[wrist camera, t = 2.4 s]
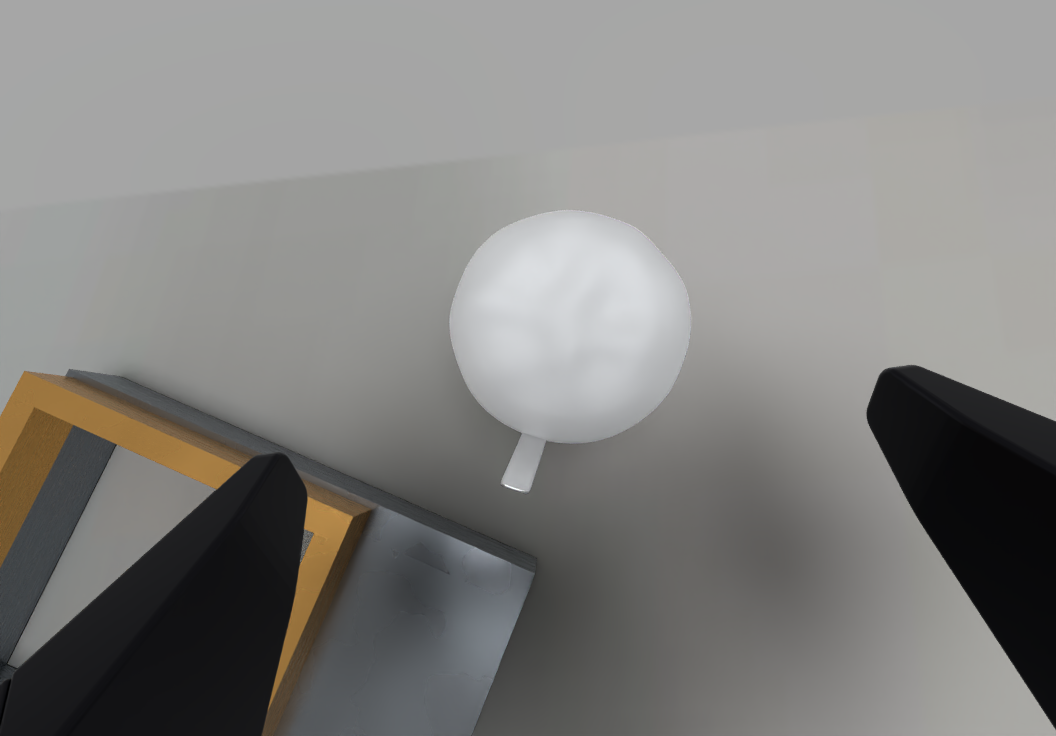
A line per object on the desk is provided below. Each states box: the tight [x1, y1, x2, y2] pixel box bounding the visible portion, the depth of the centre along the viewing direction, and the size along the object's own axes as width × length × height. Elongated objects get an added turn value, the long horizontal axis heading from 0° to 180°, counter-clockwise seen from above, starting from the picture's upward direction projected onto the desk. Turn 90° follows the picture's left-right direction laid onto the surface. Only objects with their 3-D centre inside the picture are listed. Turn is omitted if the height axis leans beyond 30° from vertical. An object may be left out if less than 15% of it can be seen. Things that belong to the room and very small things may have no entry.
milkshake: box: [449, 210, 691, 494], centre depth 13 cm, size 4×5×10 cm
